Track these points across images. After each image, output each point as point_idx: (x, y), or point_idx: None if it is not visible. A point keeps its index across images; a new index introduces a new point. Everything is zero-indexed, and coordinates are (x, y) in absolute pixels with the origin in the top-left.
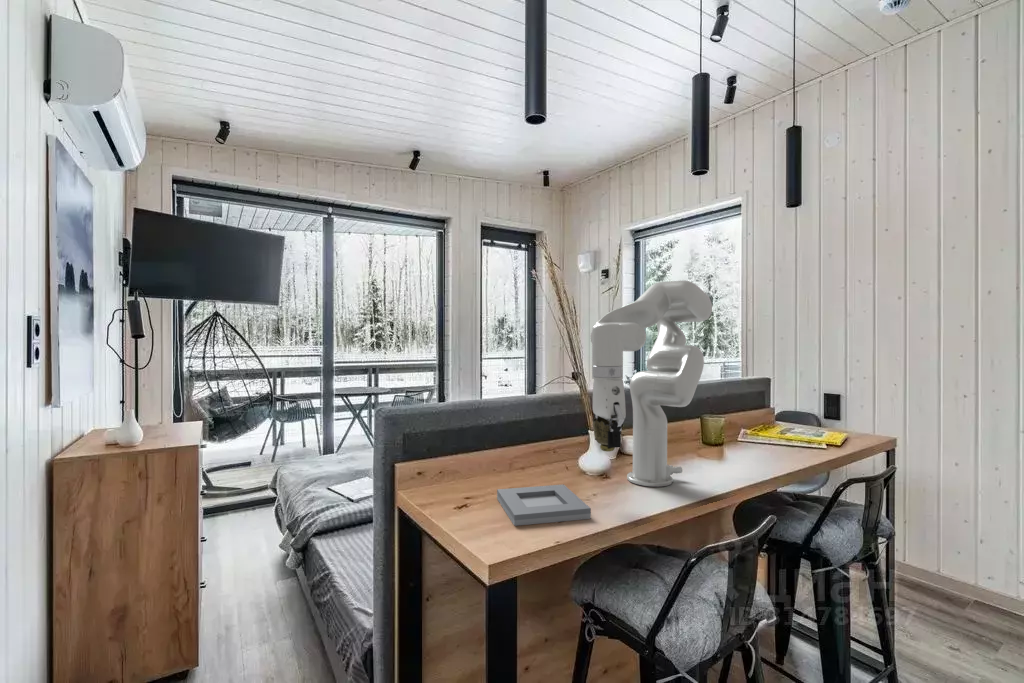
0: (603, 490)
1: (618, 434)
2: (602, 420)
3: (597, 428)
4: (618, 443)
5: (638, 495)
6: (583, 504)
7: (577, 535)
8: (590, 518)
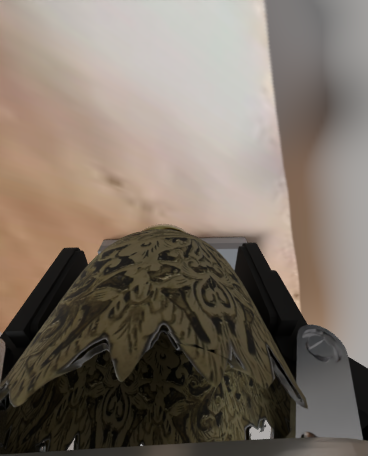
0: (80, 145)
1: (299, 317)
2: (24, 403)
3: (196, 404)
4: (275, 272)
5: (130, 50)
6: (227, 253)
7: (292, 272)
8: (244, 237)
